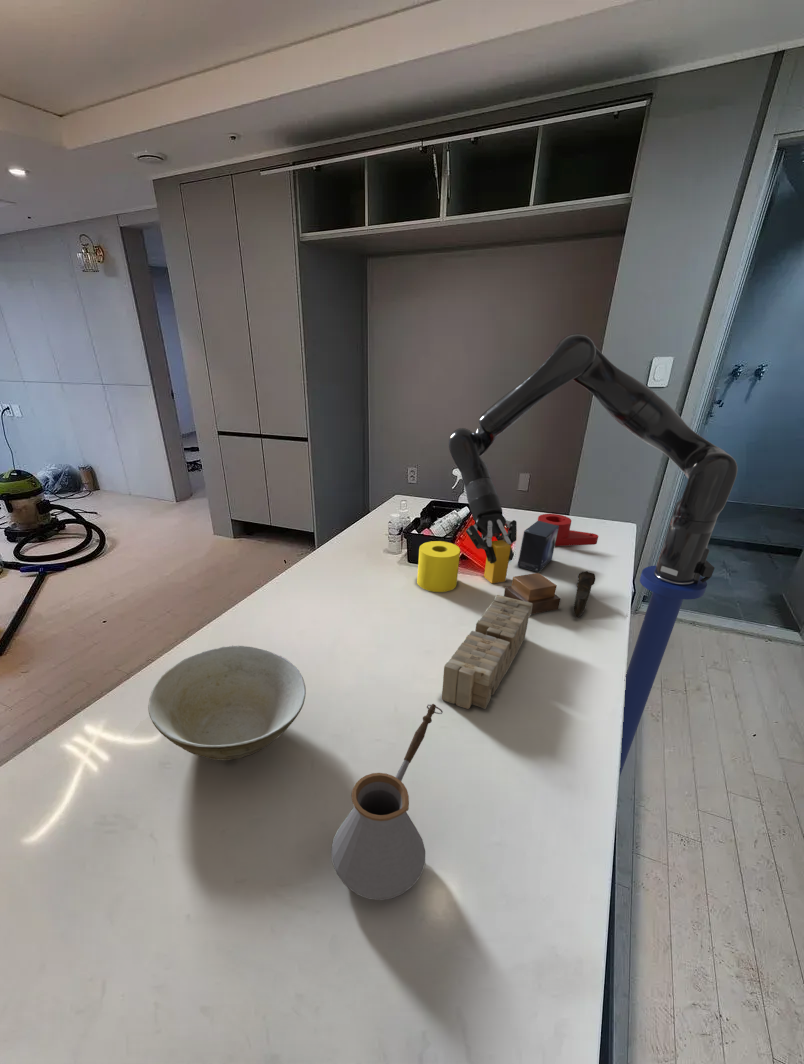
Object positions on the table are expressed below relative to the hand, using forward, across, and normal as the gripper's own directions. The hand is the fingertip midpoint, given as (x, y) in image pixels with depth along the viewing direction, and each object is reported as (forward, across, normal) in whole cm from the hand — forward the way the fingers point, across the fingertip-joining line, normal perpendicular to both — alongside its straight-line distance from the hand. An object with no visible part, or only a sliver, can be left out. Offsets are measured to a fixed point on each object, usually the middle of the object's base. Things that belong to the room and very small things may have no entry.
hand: (501, 561), depth 127 cm
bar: (+3, 0, +6) cm, 6 cm away
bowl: (+29, -70, -20) cm, 79 cm away
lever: (-8, +34, +17) cm, 39 cm away
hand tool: (+15, +14, -6) cm, 21 cm away
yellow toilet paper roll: (+1, -15, +8) cm, 17 cm away
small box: (0, +16, +9) cm, 18 cm away
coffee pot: (+47, -52, -38) cm, 80 cm away
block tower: (+26, -21, -17) cm, 38 cm away
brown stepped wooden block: (+13, +1, -4) cm, 13 cm away
